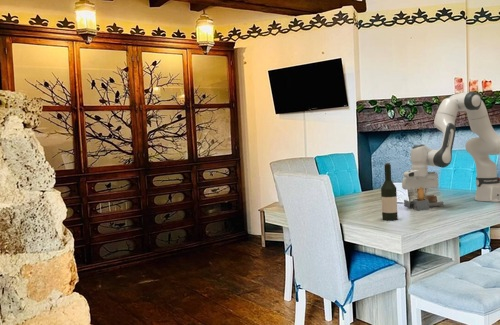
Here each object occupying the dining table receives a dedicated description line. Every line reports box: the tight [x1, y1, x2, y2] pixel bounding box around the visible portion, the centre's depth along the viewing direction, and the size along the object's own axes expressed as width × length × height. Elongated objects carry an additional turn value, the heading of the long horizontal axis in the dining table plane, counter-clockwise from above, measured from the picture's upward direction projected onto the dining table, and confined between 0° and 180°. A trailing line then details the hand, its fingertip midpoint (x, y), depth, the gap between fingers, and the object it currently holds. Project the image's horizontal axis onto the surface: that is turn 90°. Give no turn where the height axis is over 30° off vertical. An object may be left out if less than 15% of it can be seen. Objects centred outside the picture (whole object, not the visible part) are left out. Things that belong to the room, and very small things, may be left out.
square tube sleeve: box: [412, 198, 430, 211], centre depth 257 cm, size 7×7×6 cm
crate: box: [424, 194, 438, 203], centre depth 266 cm, size 6×6×5 cm
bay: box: [403, 199, 445, 209], centre depth 266 cm, size 20×10×4 cm, turn 89°
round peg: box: [416, 187, 425, 201], centre depth 256 cm, size 4×4×9 cm
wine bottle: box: [380, 162, 399, 222], centre depth 233 cm, size 8×8×30 cm
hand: (420, 196), depth 256 cm, fingers closed on round peg, 4 cm apart
